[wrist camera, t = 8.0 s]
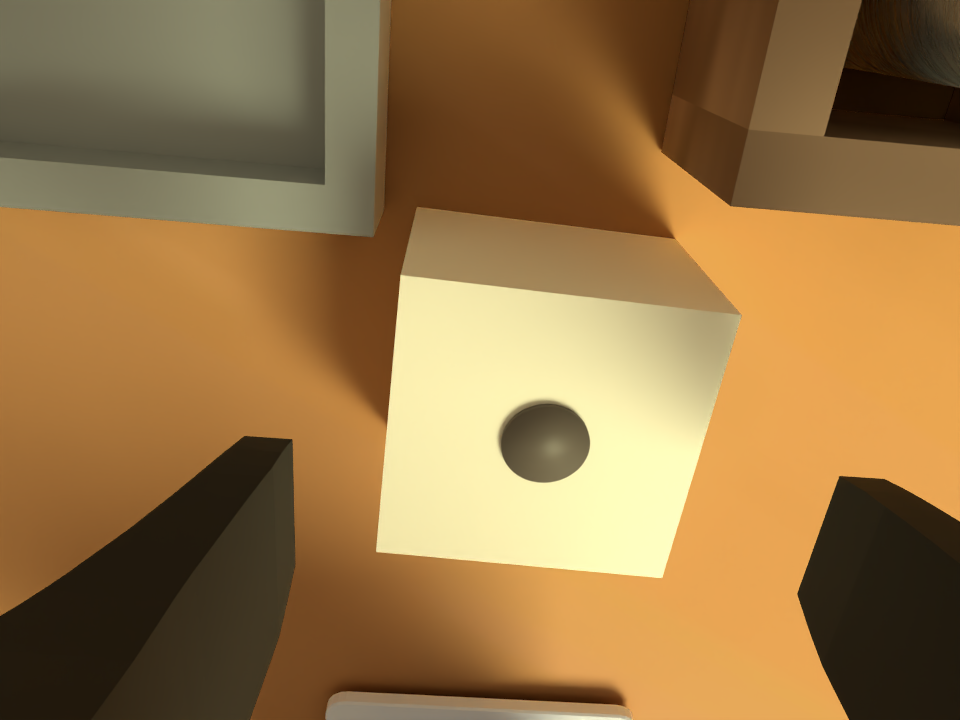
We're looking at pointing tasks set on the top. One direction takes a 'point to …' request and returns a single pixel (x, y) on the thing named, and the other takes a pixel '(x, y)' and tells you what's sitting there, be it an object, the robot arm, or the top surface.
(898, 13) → the cylinder
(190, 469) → the top surface
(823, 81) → the hollow square frame
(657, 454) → the small block
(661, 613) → the top surface
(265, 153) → the tray
